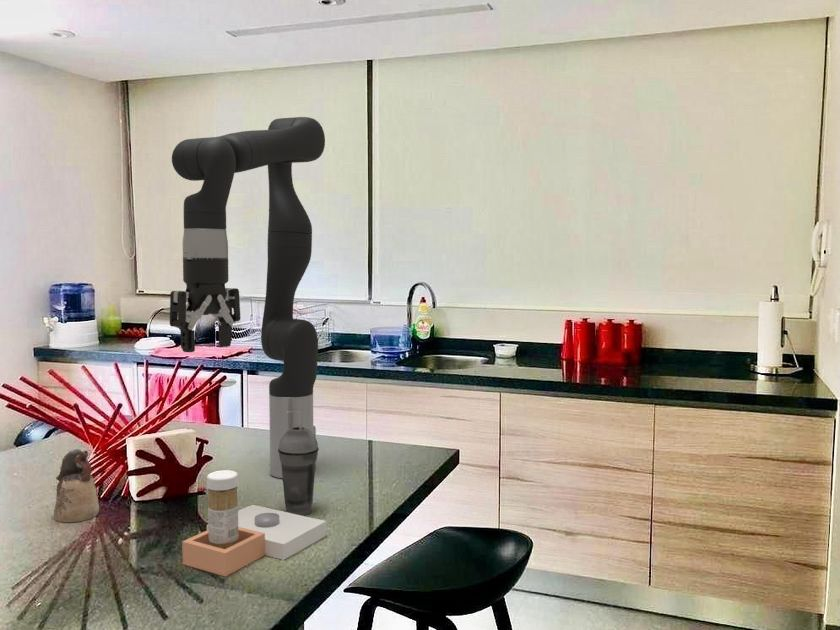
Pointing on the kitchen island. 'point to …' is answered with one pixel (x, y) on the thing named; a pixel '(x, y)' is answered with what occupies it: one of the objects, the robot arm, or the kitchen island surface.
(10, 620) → the kitchen island surface
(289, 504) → the beverage cup
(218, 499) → the sprinkles bottle
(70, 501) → the figurine
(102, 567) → the kitchen island surface
